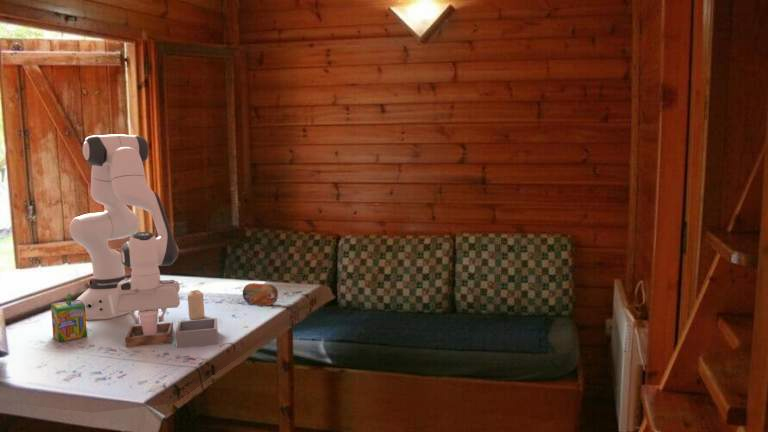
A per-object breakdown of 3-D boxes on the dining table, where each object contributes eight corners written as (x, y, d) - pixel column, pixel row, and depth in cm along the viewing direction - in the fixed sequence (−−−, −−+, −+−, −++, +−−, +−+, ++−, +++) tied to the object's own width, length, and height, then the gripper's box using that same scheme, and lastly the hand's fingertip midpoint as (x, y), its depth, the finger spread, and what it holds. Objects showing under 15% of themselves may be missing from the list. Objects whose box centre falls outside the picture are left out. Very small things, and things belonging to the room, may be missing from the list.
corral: (125, 347, 211) (125, 338, 210) (131, 334, 224) (131, 326, 224) (170, 343, 214) (169, 334, 214) (173, 330, 227) (172, 322, 227)
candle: (200, 319, 240) (198, 292, 239) (186, 319, 241) (184, 292, 240) (207, 315, 245) (205, 289, 244) (193, 314, 247) (191, 288, 245)
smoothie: (148, 343, 215) (145, 301, 213) (136, 340, 218) (132, 299, 216) (164, 337, 220) (161, 296, 218) (152, 334, 223) (149, 294, 221)
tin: (242, 303, 261) (241, 283, 260) (247, 301, 264) (246, 281, 263) (275, 306, 255) (274, 285, 254) (279, 304, 258) (278, 283, 257)
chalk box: (52, 336, 224) (48, 294, 222) (81, 331, 230) (77, 289, 228) (58, 343, 217) (54, 299, 215) (88, 337, 223) (84, 294, 221)
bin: (176, 347, 209) (175, 332, 208) (179, 335, 221) (178, 321, 221) (217, 343, 212) (216, 328, 211) (217, 332, 224) (216, 318, 224)
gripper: (179, 277, 222) (182, 317, 224) (115, 281, 217) (118, 322, 219) (178, 281, 216) (181, 322, 218) (111, 286, 211) (115, 327, 213)
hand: (149, 322), depth 218 cm, fingers closed on smoothie, 6 cm apart
